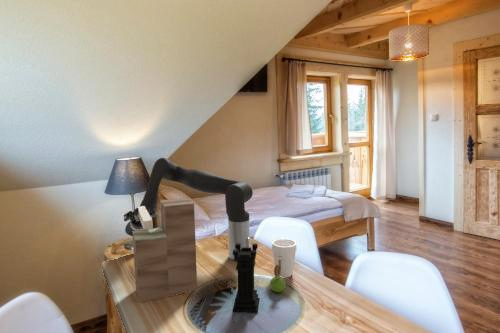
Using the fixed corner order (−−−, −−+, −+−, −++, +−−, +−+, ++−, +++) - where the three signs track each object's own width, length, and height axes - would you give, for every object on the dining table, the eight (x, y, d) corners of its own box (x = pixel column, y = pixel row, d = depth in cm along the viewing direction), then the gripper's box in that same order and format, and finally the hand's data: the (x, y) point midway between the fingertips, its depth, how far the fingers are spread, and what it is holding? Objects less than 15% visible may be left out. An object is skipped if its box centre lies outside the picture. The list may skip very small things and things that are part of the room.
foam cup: (269, 278, 134) (269, 245, 132) (275, 268, 143) (275, 237, 141) (293, 281, 131) (293, 248, 129) (298, 271, 139) (298, 240, 138)
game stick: (137, 214, 140) (136, 206, 140) (145, 213, 141) (144, 205, 141) (144, 229, 120) (143, 221, 120) (152, 228, 121) (152, 220, 121)
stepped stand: (136, 289, 126) (130, 203, 122) (190, 279, 134) (187, 197, 130) (139, 302, 117) (133, 210, 113) (197, 290, 125) (194, 203, 121)
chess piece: (259, 300, 118) (258, 243, 115) (257, 313, 110) (256, 252, 107) (236, 299, 119) (234, 242, 116) (232, 312, 111) (231, 251, 108)
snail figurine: (287, 287, 126) (287, 256, 125) (283, 296, 120) (283, 263, 119) (273, 285, 128) (272, 254, 126) (268, 293, 122) (268, 261, 120)
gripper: (121, 214, 149) (122, 202, 134) (155, 210, 154) (159, 198, 139) (122, 231, 146) (124, 221, 131) (157, 227, 152) (162, 216, 137)
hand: (142, 209), depth 135 cm, fingers closed on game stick, 3 cm apart
